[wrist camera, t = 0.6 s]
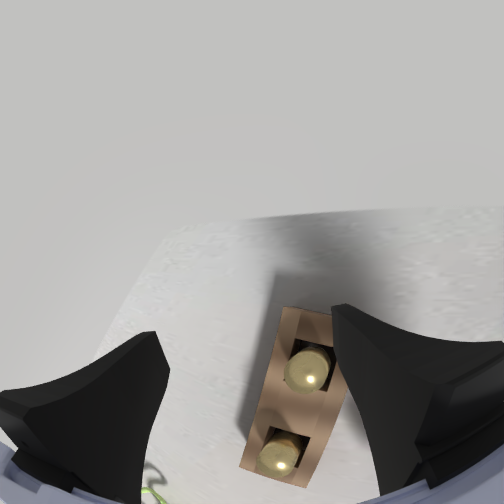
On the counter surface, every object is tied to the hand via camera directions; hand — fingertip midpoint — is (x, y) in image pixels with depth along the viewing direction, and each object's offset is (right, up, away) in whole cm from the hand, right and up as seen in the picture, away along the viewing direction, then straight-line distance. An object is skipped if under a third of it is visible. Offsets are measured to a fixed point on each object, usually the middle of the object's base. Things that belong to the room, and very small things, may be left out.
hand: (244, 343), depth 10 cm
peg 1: (+4, -19, +16) cm, 25 cm away
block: (+7, -15, +20) cm, 26 cm away
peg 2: (+7, -8, +17) cm, 20 cm away
